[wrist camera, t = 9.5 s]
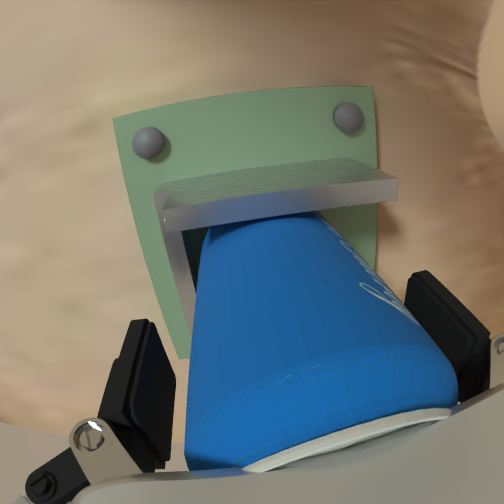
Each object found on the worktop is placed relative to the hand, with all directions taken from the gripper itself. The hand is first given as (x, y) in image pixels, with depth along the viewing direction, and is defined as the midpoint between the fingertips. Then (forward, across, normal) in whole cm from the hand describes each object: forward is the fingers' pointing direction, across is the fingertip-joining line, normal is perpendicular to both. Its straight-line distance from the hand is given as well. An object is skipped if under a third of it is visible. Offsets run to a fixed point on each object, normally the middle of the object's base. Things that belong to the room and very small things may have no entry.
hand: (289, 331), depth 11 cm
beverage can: (+6, 0, 0) cm, 6 cm away
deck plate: (+7, 0, -1) cm, 7 cm away
